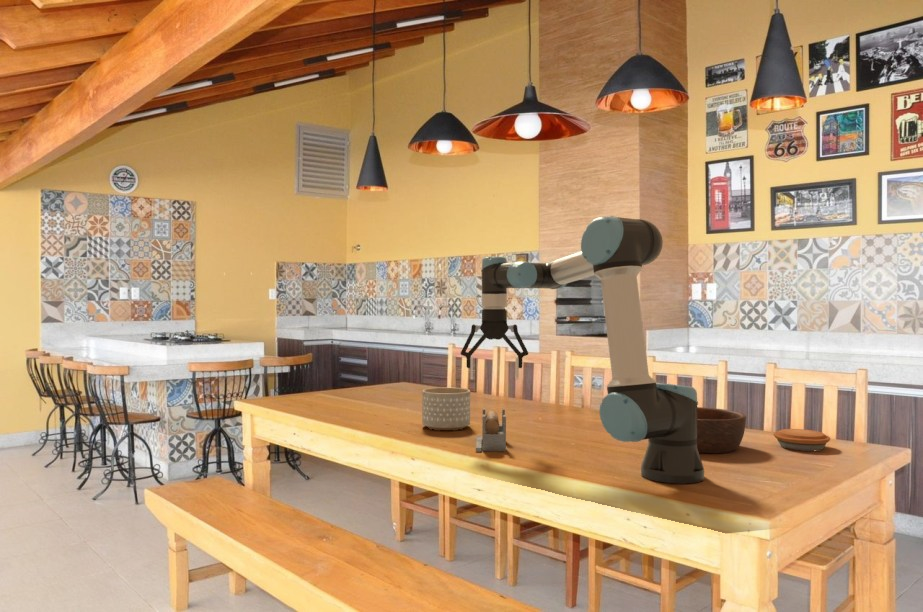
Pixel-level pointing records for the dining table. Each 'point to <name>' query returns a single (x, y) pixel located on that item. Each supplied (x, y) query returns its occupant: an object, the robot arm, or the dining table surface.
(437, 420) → the planter
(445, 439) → the dining table surface
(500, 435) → the bracket
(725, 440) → the wooden bowl
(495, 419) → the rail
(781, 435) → the pie
